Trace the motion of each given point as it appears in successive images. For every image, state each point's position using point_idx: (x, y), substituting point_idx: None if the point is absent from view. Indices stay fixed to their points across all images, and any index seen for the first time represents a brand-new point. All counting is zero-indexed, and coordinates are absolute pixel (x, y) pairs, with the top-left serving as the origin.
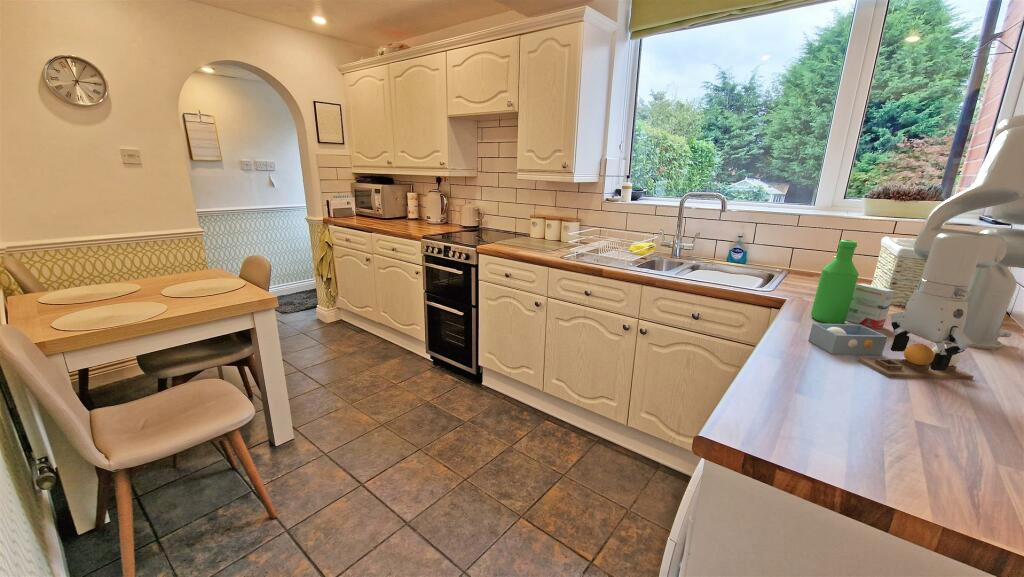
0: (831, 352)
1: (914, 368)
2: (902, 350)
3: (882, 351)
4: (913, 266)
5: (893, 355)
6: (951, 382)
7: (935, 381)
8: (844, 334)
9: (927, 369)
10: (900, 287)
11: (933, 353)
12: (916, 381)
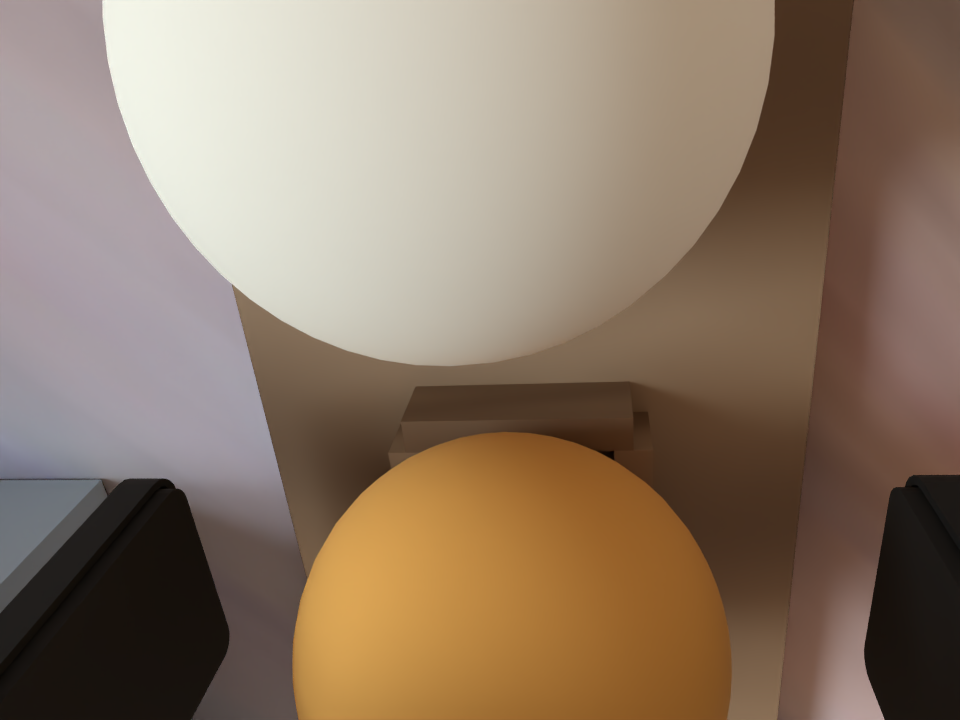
0: None
1: None
2: (183, 531)
3: (69, 516)
4: None
5: (45, 324)
6: (941, 257)
7: (883, 468)
8: None
9: (650, 426)
10: None
11: (675, 641)
12: (860, 680)
